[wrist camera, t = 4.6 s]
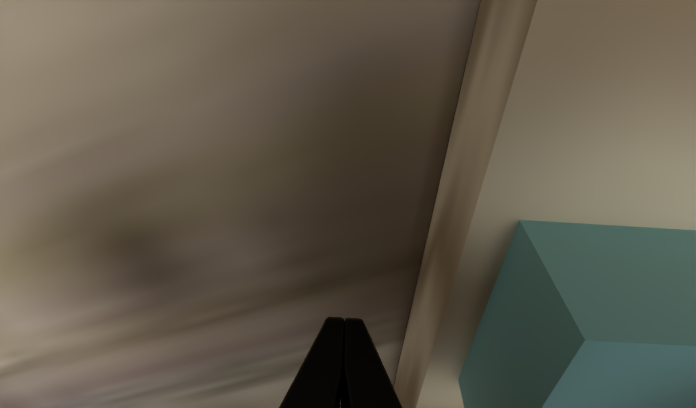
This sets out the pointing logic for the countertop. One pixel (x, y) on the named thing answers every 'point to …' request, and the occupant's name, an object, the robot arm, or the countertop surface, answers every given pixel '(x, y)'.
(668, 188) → the wooden tray
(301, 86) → the countertop surface
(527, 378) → the block
